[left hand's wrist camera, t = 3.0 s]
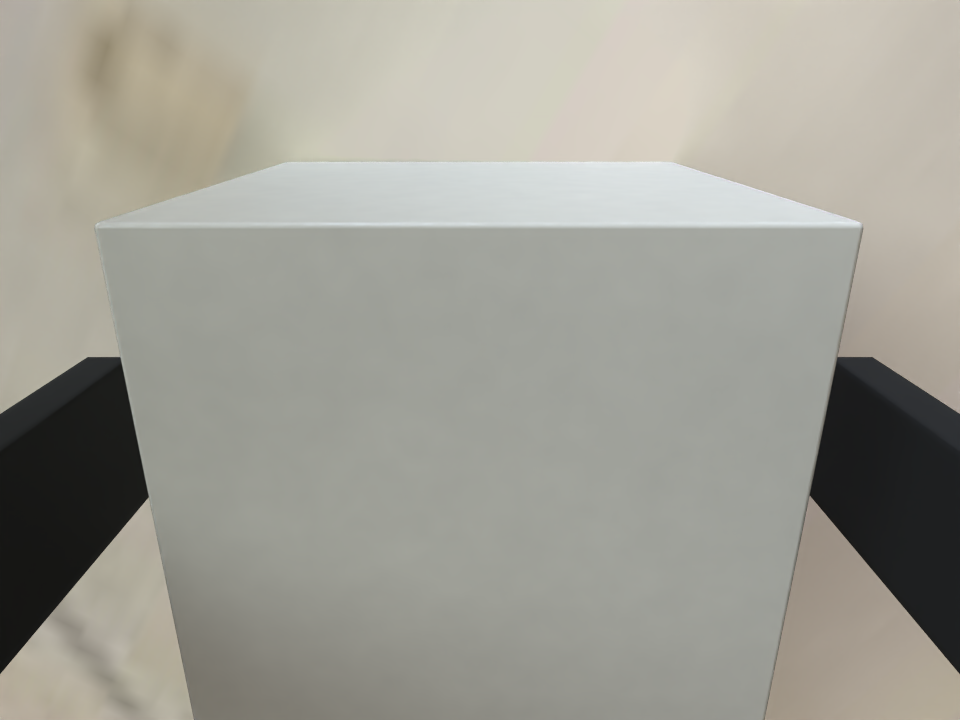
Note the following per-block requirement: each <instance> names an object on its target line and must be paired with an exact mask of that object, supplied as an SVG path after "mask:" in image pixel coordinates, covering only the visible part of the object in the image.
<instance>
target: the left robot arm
mask: <svg viewBox="0 0 960 720" xmlns="http://www.w3.org/2000/svg"><path fill="white" fill-rule="evenodd" d="M810 496H811V497H812V498H813V500H814V501H815V502H816V503H817V504H818V506H819V507H820V508H821V509H822V510H823V512H824V513H825V514H826V515H827V516H828V518H829V519H830V520H831V521H832V522H833V523H834V525H835V526H836V527H837V528H838V529H839V531H840V532H841V533H842V534H843V535H844V537H845V538H846V539H847V540H848V541H849V543H850V544H851V545H852V546H853V547H854V548H855V550H856V551H857V552H858V553H859V554H860V556H861V557H862V558H863V559H864V560H865V562H866V563H867V564H868V565H869V566H870V568H871V569H872V570H873V571H874V572H875V573H876V575H877V576H878V577H879V578H880V579H881V581H882V582H883V583H884V584H885V585H886V587H887V588H888V589H889V590H890V591H891V593H892V594H893V595H894V596H895V597H896V598H897V600H898V601H899V602H900V603H901V604H902V606H903V607H904V608H905V609H906V610H907V612H908V613H909V614H910V615H911V616H912V618H913V619H914V620H915V621H916V622H917V623H918V625H919V626H920V627H921V628H922V629H923V631H924V632H925V633H926V634H927V635H928V637H929V638H930V639H931V640H932V641H933V643H934V644H935V645H936V646H937V647H938V649H939V650H940V651H941V652H942V653H943V654H944V656H945V657H946V658H947V659H948V660H949V662H950V663H951V664H952V665H953V666H954V668H955V669H956V670H957V671H958V672H959V674H960V414H959V413H957V412H956V411H954V410H953V409H951V408H950V407H948V406H947V405H945V404H943V403H942V402H940V401H939V400H937V399H936V398H934V397H933V396H931V395H930V394H928V393H927V392H925V391H923V390H922V389H920V388H919V387H917V386H916V385H914V384H913V383H911V382H910V381H908V380H907V379H905V378H903V377H902V376H900V375H899V374H897V373H896V372H894V371H893V370H891V369H890V368H888V367H886V366H885V365H883V364H882V363H880V362H879V361H877V360H876V359H874V358H873V357H837V361H836V366H835V371H834V376H833V381H832V386H831V391H830V396H829V401H828V406H827V411H826V416H825V421H824V426H823V431H822V436H821V441H820V446H819V451H818V456H817V461H816V466H815V471H814V476H813V480H812V485H811V490H810ZM148 497H149V495H148V490H147V485H146V480H145V475H144V470H143V465H142V460H141V455H140V450H139V445H138V441H137V436H136V431H135V426H134V421H133V416H132V411H131V406H130V401H129V396H128V391H127V386H126V381H125V376H124V372H123V367H122V362H121V357H87V358H86V359H84V360H83V361H81V362H80V363H78V364H77V365H75V366H74V367H72V368H70V369H69V370H67V371H66V372H64V373H63V374H61V375H60V376H58V377H57V378H55V379H54V380H52V381H50V382H49V383H47V384H46V385H44V386H43V387H41V388H40V389H38V390H37V391H35V392H33V393H32V394H30V395H29V396H27V397H26V398H24V399H23V400H21V401H20V402H18V403H17V404H15V405H13V406H12V407H10V408H9V409H7V410H6V411H4V412H3V413H1V414H0V674H1V672H2V671H3V670H4V669H5V668H6V666H7V665H8V664H9V663H10V662H11V660H12V659H13V658H14V657H15V656H16V654H17V653H18V652H19V651H20V650H21V649H22V647H23V646H24V645H25V644H26V643H27V641H28V640H29V639H30V638H31V637H32V635H33V634H34V633H35V632H36V631H37V629H38V628H39V627H40V626H41V625H42V624H43V622H44V621H45V620H46V619H47V618H48V616H49V615H50V614H51V613H52V612H53V610H54V609H55V608H56V607H57V606H58V604H59V603H60V602H61V601H62V600H63V599H64V597H65V596H66V595H67V594H68V593H69V591H70V590H71V589H72V588H73V587H74V585H75V584H76V583H77V582H78V581H79V579H80V578H81V577H82V576H83V575H84V574H85V572H86V571H87V570H88V569H89V568H90V566H91V565H92V564H93V563H94V562H95V560H96V559H97V558H98V557H99V556H100V554H101V553H102V552H103V551H104V550H105V549H106V547H107V546H108V545H109V544H110V543H111V541H112V540H113V539H114V538H115V537H116V535H117V534H118V533H119V532H120V531H121V529H122V528H123V527H124V526H125V525H126V523H127V522H128V521H129V520H130V519H131V518H132V516H133V515H134V514H135V513H136V512H137V510H138V509H139V508H140V507H141V506H142V504H143V503H144V502H145V501H146V500H147V498H148Z"/></svg>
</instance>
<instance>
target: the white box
mask: <svg viewBox="0 0 960 720" xmlns="http://www.w3.org/2000/svg"><path fill="white" fill-rule="evenodd" d="M862 232H863V224H862V223H860V222H858V221H855V220H852V219H849V218H846V217H843V216H839V215H836V214H833V213H830V212H827V211H824V210H821V209H817V208H814V207H811V206H808V205H805V204H802V203H799V202H796V201H792V200H789V199H786V198H783V197H780V196H777V195H774V194H770V193H767V192H764V191H761V190H758V189H755V188H752V187H749V186H745V185H742V184H739V183H736V182H733V181H730V180H727V179H723V178H720V177H717V176H714V175H711V174H708V173H705V172H702V171H698V170H695V169H692V168H689V167H686V166H683V165H680V164H676V163H673V162H285V163H282V164H279V165H276V166H273V167H269V168H266V169H263V170H260V171H257V172H254V173H251V174H248V175H244V176H241V177H238V178H235V179H232V180H229V181H226V182H222V183H219V184H216V185H213V186H210V187H207V188H204V189H200V190H197V191H194V192H191V193H188V194H185V195H182V196H178V197H175V198H172V199H169V200H166V201H163V202H160V203H157V204H153V205H150V206H147V207H144V208H141V209H138V210H135V211H131V212H128V213H125V214H122V215H119V216H116V217H113V218H109V219H106V220H103V221H100V222H98V223H96V224H95V233H96V238H97V243H98V248H99V253H100V258H101V263H102V268H103V273H104V278H105V283H106V288H107V293H108V298H109V302H110V307H111V312H112V317H113V322H114V327H115V332H116V337H117V342H118V347H119V352H120V357H121V362H122V367H123V372H124V376H125V381H126V386H127V391H128V396H129V401H130V406H131V411H132V416H133V421H134V426H135V431H136V436H137V441H138V445H139V450H140V455H141V460H142V465H143V470H144V475H145V480H146V485H147V490H148V495H149V500H150V505H151V510H152V515H153V519H154V524H155V529H156V534H157V539H158V544H159V549H160V554H161V559H162V564H163V569H164V574H165V579H166V584H167V588H168V593H169V598H170V603H171V608H172V613H173V618H174V623H175V628H176V633H177V638H178V643H179V648H180V653H181V658H182V662H183V667H184V672H185V677H186V682H187V687H188V692H189V697H190V702H191V707H192V712H193V717H194V720H764V719H765V714H766V709H767V704H768V699H769V694H770V689H771V684H772V679H773V674H774V669H775V664H776V659H777V654H778V649H779V644H780V639H781V634H782V629H783V624H784V619H785V614H786V609H787V605H788V600H789V595H790V590H791V585H792V580H793V575H794V570H795V565H796V560H797V555H798V550H799V545H800V540H801V535H802V530H803V525H804V520H805V515H806V510H807V505H808V500H809V495H810V490H811V485H812V480H813V476H814V471H815V466H816V461H817V456H818V451H819V446H820V441H821V436H822V431H823V426H824V421H825V416H826V411H827V406H828V401H829V396H830V391H831V386H832V381H833V376H834V371H835V366H836V361H837V356H838V351H839V347H840V342H841V337H842V332H843V327H844V322H845V317H846V312H847V307H848V302H849V297H850V292H851V287H852V282H853V277H854V272H855V267H856V262H857V257H858V252H859V247H860V242H861V237H862Z"/></svg>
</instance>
